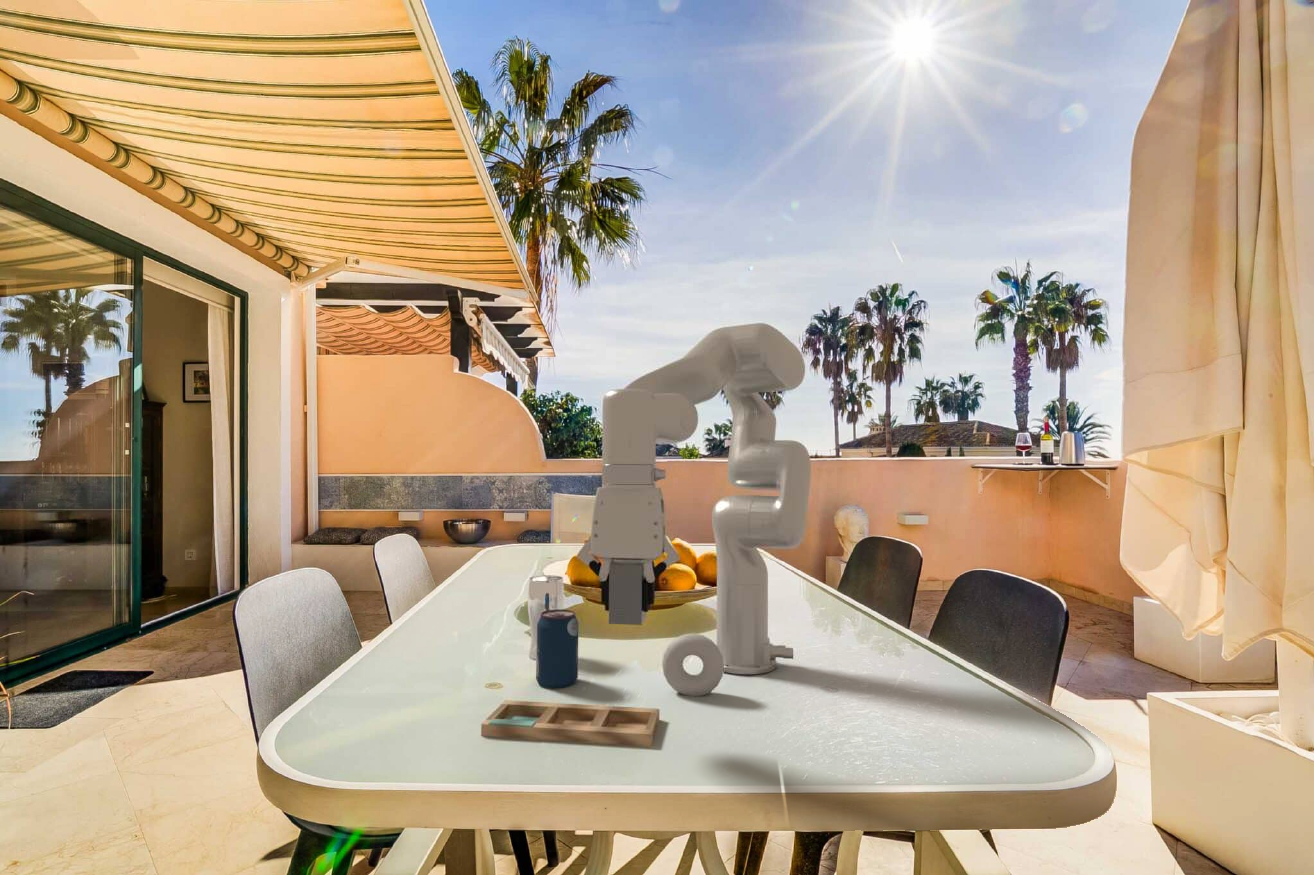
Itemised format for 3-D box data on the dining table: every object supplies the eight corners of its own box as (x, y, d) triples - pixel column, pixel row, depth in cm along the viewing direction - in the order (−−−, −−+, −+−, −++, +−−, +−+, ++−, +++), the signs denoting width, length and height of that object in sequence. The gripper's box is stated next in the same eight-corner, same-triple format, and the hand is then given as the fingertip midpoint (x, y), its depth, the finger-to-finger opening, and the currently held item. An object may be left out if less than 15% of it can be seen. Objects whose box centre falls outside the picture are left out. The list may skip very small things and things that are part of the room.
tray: (659, 722, 92) (659, 707, 92) (650, 750, 83) (651, 732, 83) (505, 713, 95) (505, 698, 95) (480, 739, 86) (481, 722, 86)
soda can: (586, 685, 108) (587, 612, 108) (553, 695, 102) (554, 619, 103) (560, 675, 112) (561, 606, 113) (527, 685, 107) (528, 612, 108)
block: (646, 617, 91) (646, 560, 91) (641, 624, 86) (641, 565, 86) (614, 616, 91) (615, 559, 92) (608, 623, 87) (609, 564, 87)
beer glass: (559, 661, 121) (561, 581, 121) (522, 660, 121) (524, 580, 121) (565, 651, 128) (566, 575, 128) (530, 650, 128) (532, 574, 128)
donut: (660, 698, 102) (661, 634, 102) (663, 691, 105) (663, 629, 105) (723, 702, 100) (723, 637, 101) (724, 694, 104) (724, 632, 104)
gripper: (690, 477, 92) (690, 605, 91) (576, 476, 94) (575, 601, 93) (687, 478, 85) (686, 617, 84) (562, 477, 87) (561, 613, 86)
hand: (627, 607), depth 89 cm, fingers closed on block, 4 cm apart
